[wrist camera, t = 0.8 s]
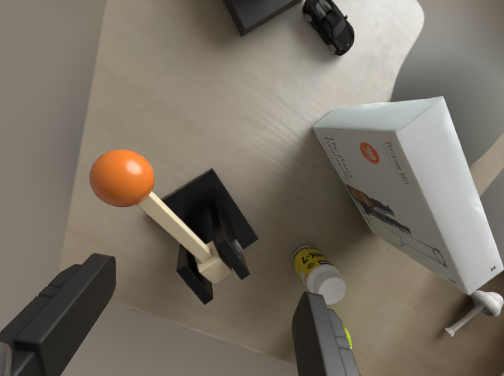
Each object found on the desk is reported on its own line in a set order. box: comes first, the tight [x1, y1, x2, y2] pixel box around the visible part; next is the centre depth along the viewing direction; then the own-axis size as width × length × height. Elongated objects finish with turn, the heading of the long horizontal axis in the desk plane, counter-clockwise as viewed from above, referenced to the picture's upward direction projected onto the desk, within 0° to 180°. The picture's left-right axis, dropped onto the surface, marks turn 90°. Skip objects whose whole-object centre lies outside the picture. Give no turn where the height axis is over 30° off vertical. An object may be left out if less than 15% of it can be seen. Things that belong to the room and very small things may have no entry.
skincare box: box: [312, 96, 504, 295], centre depth 30 cm, size 21×5×16 cm, turn 36°
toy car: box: [303, 0, 354, 56], centre depth 30 cm, size 8×4×2 cm, turn 48°
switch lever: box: [90, 150, 233, 284], centre depth 19 cm, size 15×4×4 cm, turn 31°
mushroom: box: [445, 291, 503, 336], centre depth 49 cm, size 7×5×12 cm
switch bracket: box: [161, 168, 258, 305], centre depth 28 cm, size 12×9×13 cm
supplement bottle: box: [292, 245, 346, 305], centre depth 35 cm, size 5×5×8 cm
